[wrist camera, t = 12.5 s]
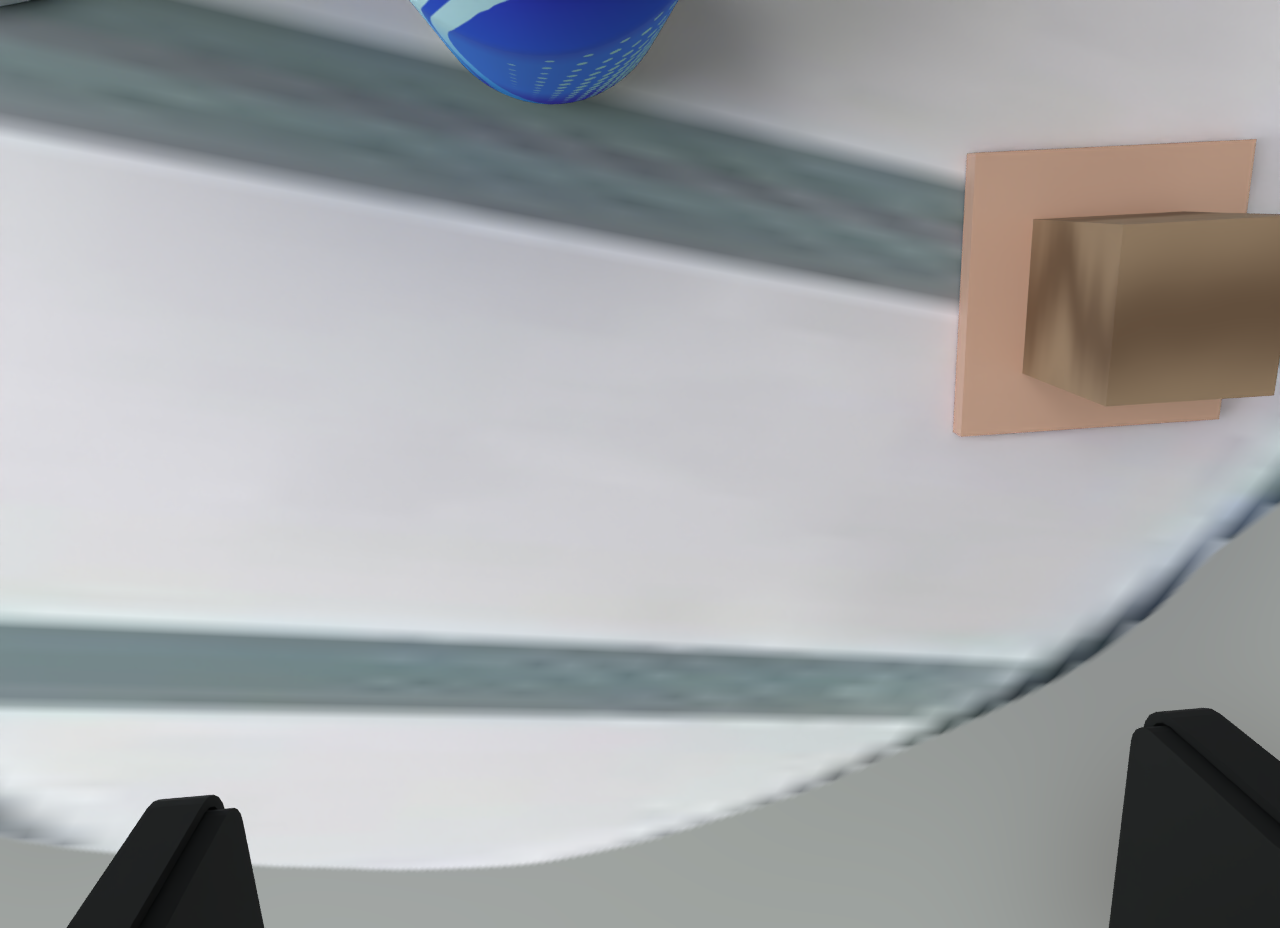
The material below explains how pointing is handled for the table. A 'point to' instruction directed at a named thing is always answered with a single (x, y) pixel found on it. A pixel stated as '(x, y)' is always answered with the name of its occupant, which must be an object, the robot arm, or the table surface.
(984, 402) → the coaster
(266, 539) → the table surface
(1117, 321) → the walnut block
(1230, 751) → the robot arm
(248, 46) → the table surface
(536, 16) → the beer can
